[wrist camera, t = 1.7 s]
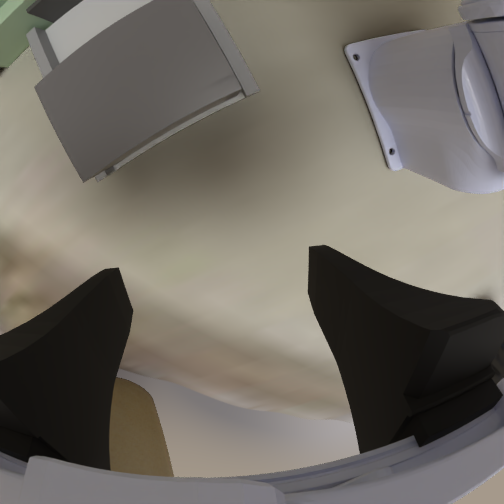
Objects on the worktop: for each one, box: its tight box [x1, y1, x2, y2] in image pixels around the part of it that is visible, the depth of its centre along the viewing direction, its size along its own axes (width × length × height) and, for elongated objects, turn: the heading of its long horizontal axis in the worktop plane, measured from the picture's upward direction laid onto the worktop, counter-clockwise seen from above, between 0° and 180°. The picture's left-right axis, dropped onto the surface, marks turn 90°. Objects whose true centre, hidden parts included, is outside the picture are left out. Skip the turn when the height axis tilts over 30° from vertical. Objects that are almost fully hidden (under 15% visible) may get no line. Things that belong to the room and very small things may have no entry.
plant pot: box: [109, 377, 174, 477], centre depth 20 cm, size 15×15×16 cm
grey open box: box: [34, 0, 242, 183], centre depth 12 cm, size 6×8×5 cm
